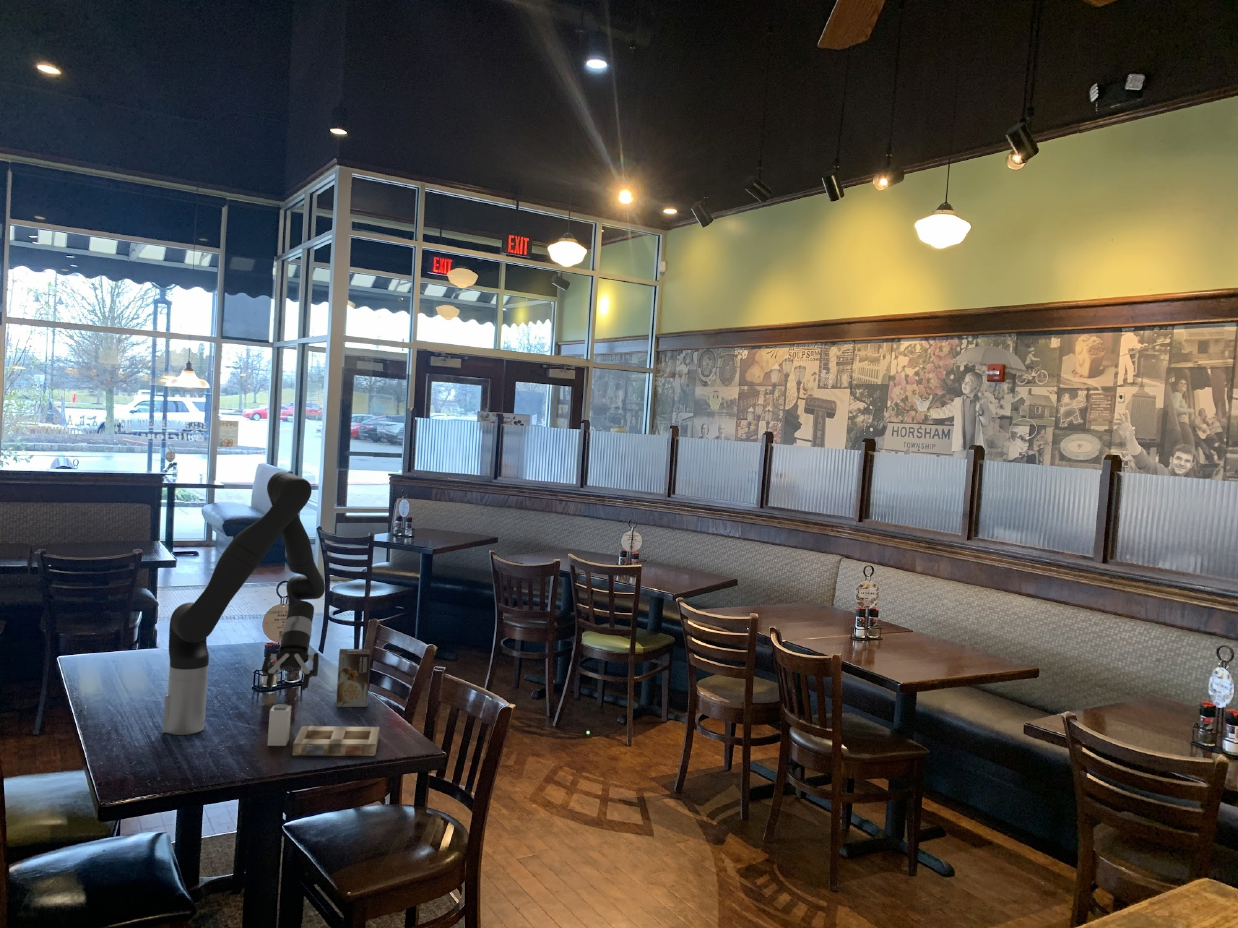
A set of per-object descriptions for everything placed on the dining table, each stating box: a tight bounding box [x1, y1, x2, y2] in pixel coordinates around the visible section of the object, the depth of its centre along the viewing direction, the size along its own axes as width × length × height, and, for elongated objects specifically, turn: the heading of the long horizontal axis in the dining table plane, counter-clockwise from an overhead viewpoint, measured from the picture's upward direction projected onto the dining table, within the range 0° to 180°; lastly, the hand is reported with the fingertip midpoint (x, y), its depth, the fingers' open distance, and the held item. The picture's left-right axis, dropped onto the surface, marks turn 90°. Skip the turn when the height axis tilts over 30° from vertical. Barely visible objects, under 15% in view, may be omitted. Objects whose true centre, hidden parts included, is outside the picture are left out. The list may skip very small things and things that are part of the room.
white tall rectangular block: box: [267, 703, 292, 747], centre depth 226 cm, size 4×4×10 cm
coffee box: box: [335, 648, 371, 708], centre depth 261 cm, size 9×6×16 cm
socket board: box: [292, 725, 380, 757], centre depth 226 cm, size 20×14×3 cm
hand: (286, 688), depth 233 cm, fingers open, 8 cm apart
